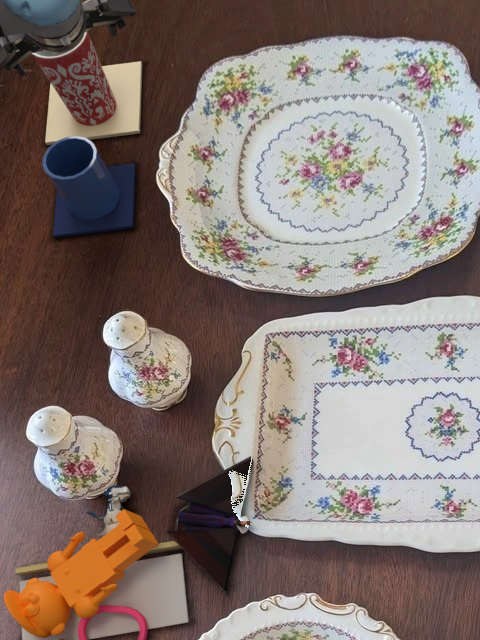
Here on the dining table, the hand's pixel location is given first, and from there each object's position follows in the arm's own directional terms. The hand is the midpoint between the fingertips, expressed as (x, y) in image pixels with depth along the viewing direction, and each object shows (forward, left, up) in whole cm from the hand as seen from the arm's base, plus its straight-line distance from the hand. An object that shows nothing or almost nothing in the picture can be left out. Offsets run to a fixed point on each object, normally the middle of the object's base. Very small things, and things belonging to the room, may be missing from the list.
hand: (64, 45), depth 109 cm
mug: (-3, +8, -16) cm, 19 cm away
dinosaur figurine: (+5, -70, -14) cm, 71 cm away
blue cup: (-2, -12, -17) cm, 21 cm away
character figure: (+10, -65, -15) cm, 68 cm away
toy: (+2, -72, -16) cm, 74 cm away
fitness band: (+4, -78, -16) cm, 80 cm away
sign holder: (+2, -69, -15) cm, 70 cm away
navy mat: (-2, -12, -17) cm, 21 cm away
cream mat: (-3, +8, -17) cm, 19 cm away
